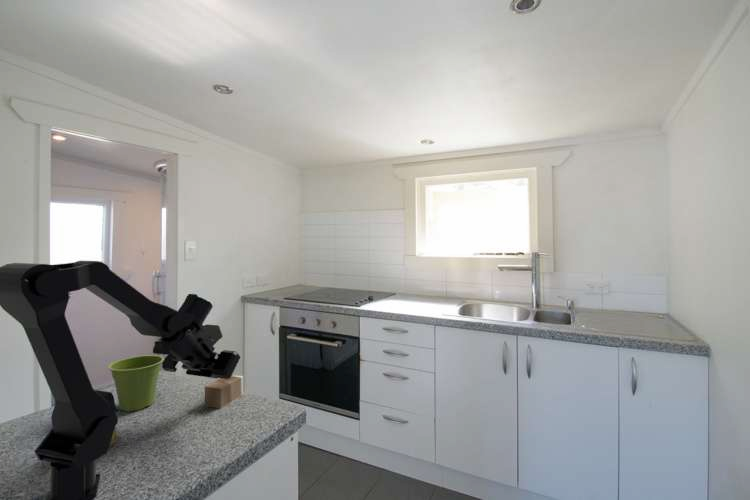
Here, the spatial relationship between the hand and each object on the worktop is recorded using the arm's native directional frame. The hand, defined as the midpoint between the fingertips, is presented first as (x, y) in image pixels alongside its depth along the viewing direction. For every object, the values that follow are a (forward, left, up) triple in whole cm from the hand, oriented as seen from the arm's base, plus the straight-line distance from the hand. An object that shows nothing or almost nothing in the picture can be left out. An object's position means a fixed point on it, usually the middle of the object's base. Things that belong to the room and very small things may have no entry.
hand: (217, 376), depth 91 cm
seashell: (-7, +25, -8) cm, 27 cm away
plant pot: (+10, +17, -7) cm, 21 cm away
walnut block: (-1, +1, -5) cm, 5 cm away
